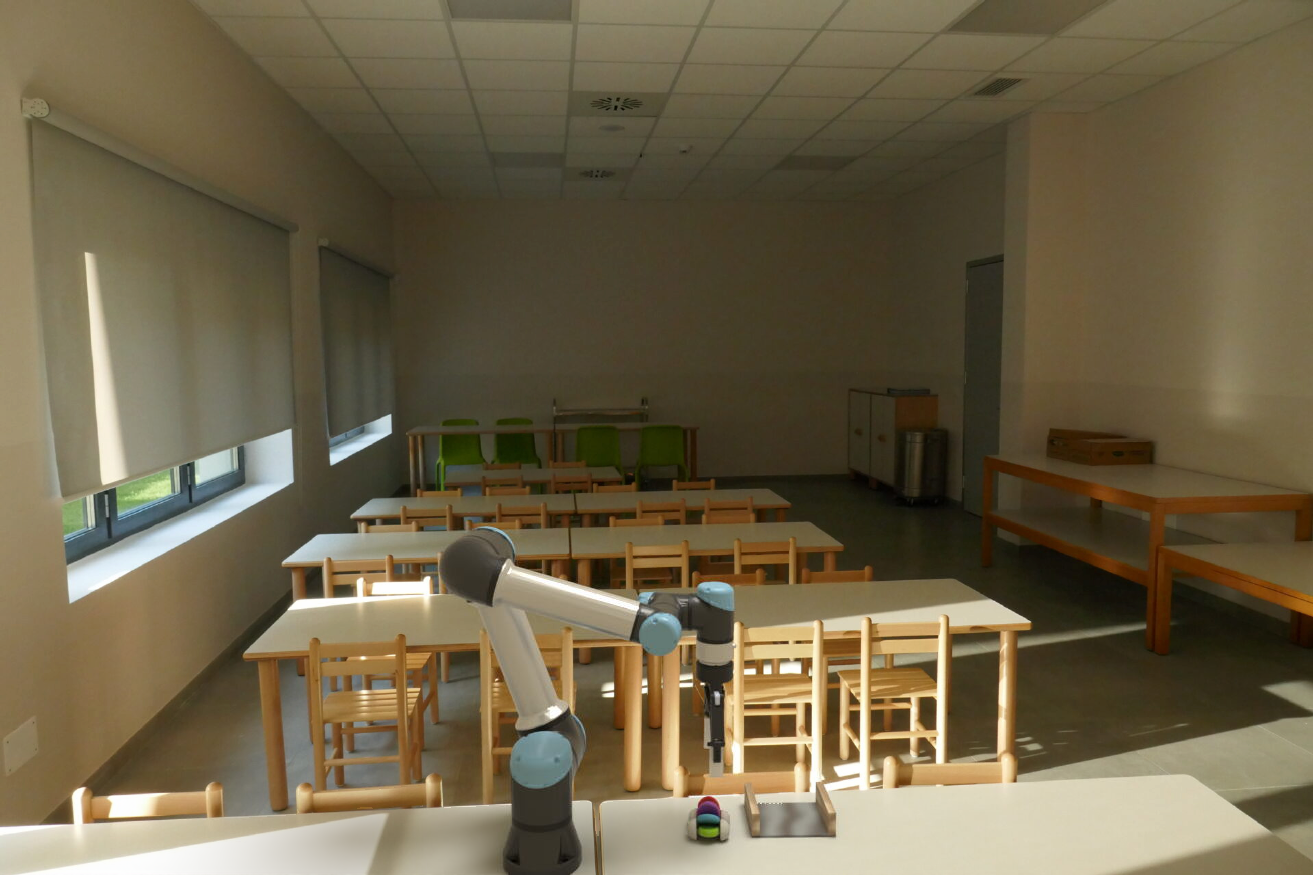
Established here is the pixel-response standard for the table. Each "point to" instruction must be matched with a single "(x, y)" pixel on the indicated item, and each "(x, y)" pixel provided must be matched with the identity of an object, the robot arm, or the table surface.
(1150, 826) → the table surface
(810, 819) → the bay
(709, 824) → the rainbow petal toy
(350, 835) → the table surface
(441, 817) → the table surface
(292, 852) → the table surface
